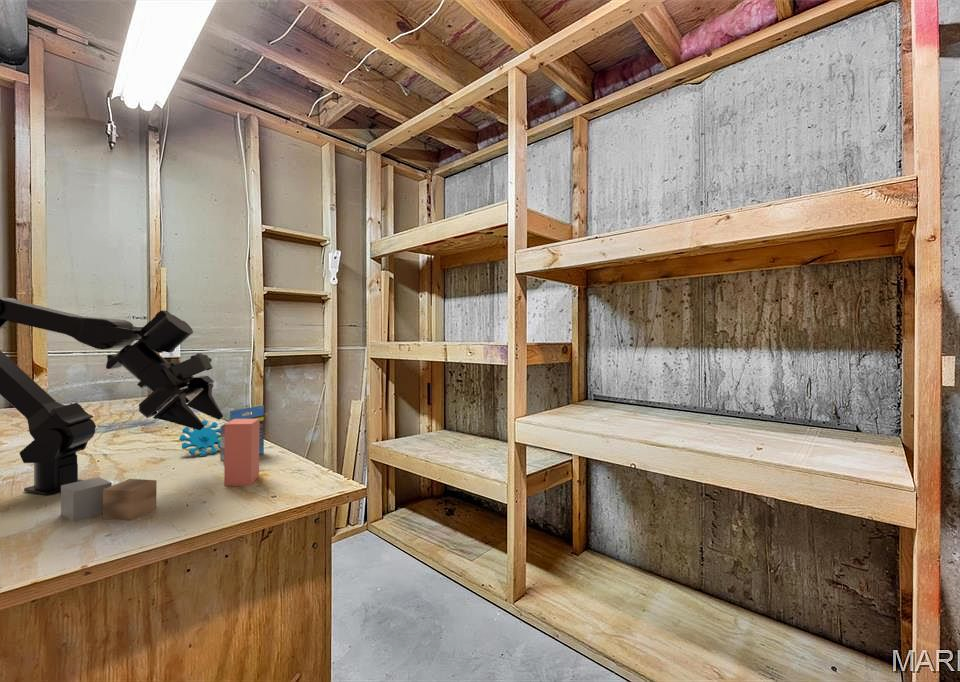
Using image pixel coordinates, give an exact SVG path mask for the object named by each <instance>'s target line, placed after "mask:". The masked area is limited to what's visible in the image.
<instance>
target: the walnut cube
mask: <svg viewBox="0 0 960 682" xmlns="http://www.w3.org/2000/svg"><path fill="white" fill-rule="evenodd" d="M157 489H158V488H157V480H155V479H142V478H141V479H140V478H138V479H137V478H127V479H126V480H124V481H120V482H118V483H115V484H113V485H112V486H110V487H108V488H105V489H103V513H102V519H103V520H115V521H116V520H117V521H134V520H135V519H138V518H140V517H142V516H143V515H146V514H148V513H149V512H151V511H153V510H154V509H155V510H156V509H157V493H158V492H157V491H158V490H157Z"/></svg>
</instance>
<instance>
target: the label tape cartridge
mask: <svg viewBox="0 0 960 682" xmlns="http://www.w3.org/2000/svg"><path fill="white" fill-rule="evenodd" d="M264 410H265V405H264V404H263V405H258V406H251V407H245V408H241V409H233V410H230V411H229V421H228V422H230V421H231V420H233V419H260V423H259V455H262V454H264V453H265V451H264V450H265V449H264V448H265V447H264V446H265V444H264V443H265V434H264V433H265V427H264V425H265V424H264V423H265V416H264V414H265V412H264ZM247 412H248V413H251V414H247V415H244V414H246V413H247ZM225 424H226V423H224V424H222V425H220V428H221V433H219V435H221V437H220V439H221V440H220V448H219V449H220V454H219V455H220V461H221V460H222V461H221V462H224V459H225Z"/></svg>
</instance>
